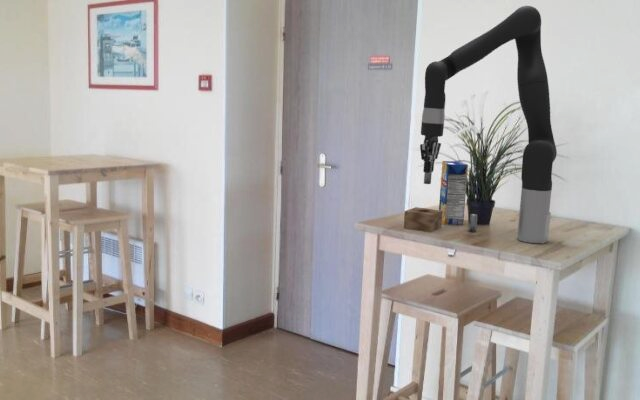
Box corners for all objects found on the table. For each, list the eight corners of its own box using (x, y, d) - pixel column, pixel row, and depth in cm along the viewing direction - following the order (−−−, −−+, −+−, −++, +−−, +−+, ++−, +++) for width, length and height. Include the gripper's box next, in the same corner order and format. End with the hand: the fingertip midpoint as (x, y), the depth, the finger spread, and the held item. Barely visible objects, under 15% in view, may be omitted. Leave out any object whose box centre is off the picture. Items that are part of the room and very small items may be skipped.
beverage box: (444, 224, 225) (448, 164, 221) (438, 218, 235) (442, 160, 232) (463, 225, 225) (468, 164, 221) (456, 219, 236) (460, 161, 232)
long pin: (431, 183, 215) (434, 152, 213) (429, 184, 213) (432, 152, 211) (425, 182, 216) (428, 151, 214) (422, 183, 214) (425, 151, 212)
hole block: (441, 227, 219) (442, 210, 218) (430, 232, 211) (431, 214, 210) (415, 223, 225) (416, 207, 224) (403, 227, 216) (404, 211, 215)
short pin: (476, 231, 215) (478, 214, 214) (474, 232, 213) (476, 215, 212) (470, 230, 216) (471, 213, 215) (467, 231, 214) (469, 214, 213)
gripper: (435, 123, 203) (430, 175, 206) (450, 122, 215) (445, 171, 218) (414, 121, 207) (410, 172, 210) (430, 120, 218) (425, 169, 222)
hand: (428, 171), depth 214 cm, fingers closed on long pin, 2 cm apart
